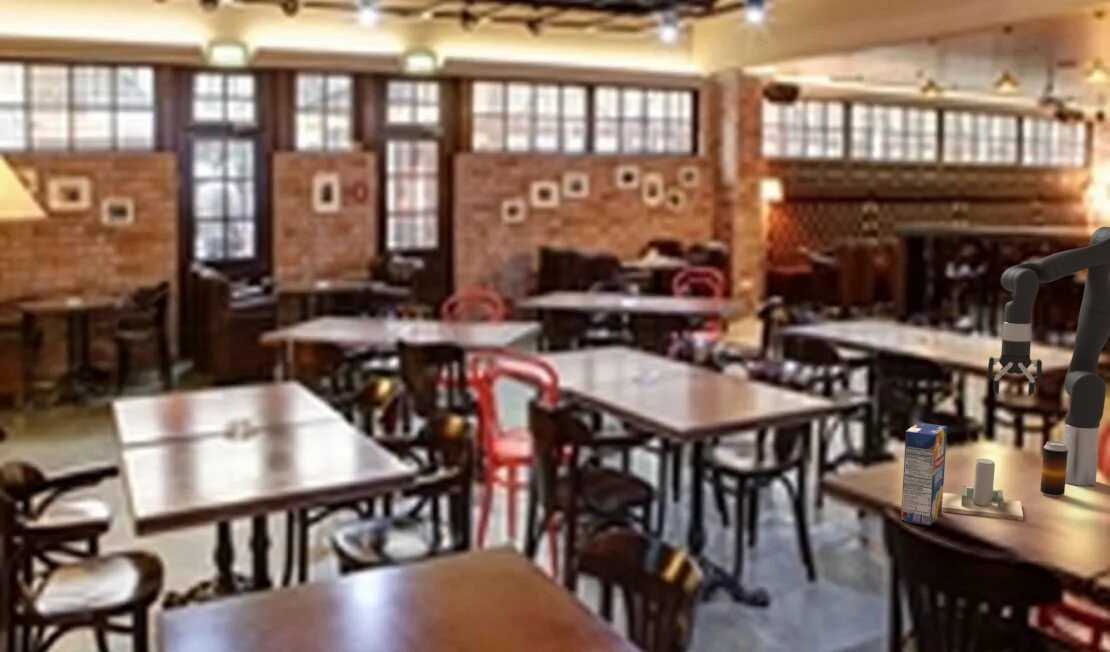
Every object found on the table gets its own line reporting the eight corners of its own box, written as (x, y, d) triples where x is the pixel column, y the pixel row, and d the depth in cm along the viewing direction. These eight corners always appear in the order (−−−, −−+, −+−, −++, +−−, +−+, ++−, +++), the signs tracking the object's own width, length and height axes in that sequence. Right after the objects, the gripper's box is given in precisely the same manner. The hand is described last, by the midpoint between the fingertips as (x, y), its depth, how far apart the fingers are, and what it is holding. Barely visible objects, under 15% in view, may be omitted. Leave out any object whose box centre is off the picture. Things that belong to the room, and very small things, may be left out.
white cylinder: (969, 501, 291) (972, 458, 289) (986, 501, 291) (989, 458, 289) (977, 506, 286) (980, 463, 284) (995, 506, 286) (998, 463, 284)
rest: (1020, 505, 292) (1021, 490, 291) (1022, 520, 279) (1024, 505, 278) (942, 496, 299) (943, 482, 298) (941, 511, 286) (942, 496, 285)
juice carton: (913, 508, 288) (918, 422, 284) (941, 513, 284) (947, 426, 280) (900, 520, 278) (905, 431, 274) (929, 525, 274) (935, 435, 270)
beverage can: (1062, 492, 303) (1066, 441, 301) (1065, 499, 297) (1069, 447, 295) (1039, 490, 305) (1042, 439, 303) (1041, 496, 299) (1045, 444, 297)
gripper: (1042, 337, 302) (1039, 393, 304) (988, 335, 307) (985, 390, 309) (1045, 341, 295) (1041, 398, 297) (989, 339, 300) (986, 395, 302)
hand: (1013, 394), depth 303 cm, fingers open, 8 cm apart
